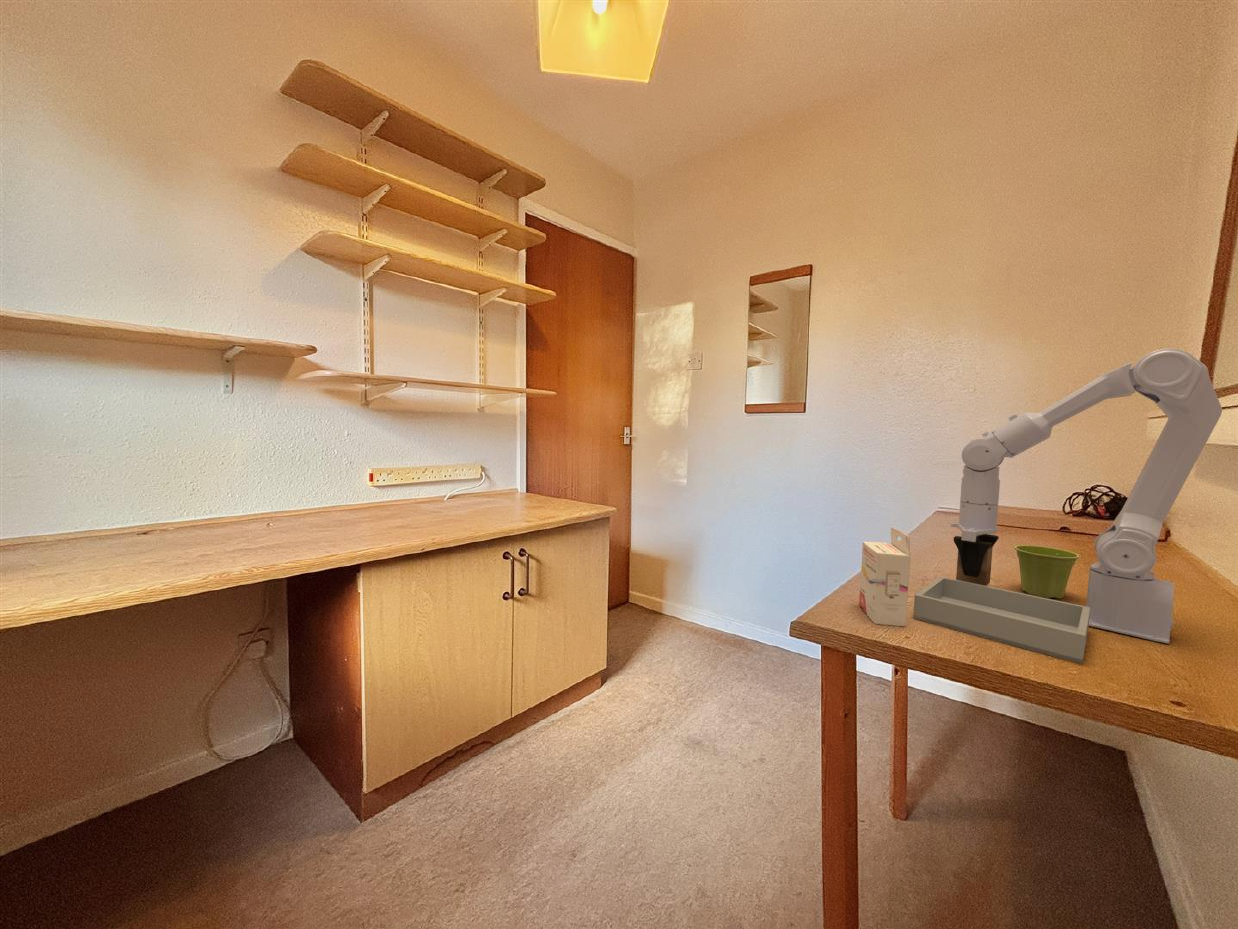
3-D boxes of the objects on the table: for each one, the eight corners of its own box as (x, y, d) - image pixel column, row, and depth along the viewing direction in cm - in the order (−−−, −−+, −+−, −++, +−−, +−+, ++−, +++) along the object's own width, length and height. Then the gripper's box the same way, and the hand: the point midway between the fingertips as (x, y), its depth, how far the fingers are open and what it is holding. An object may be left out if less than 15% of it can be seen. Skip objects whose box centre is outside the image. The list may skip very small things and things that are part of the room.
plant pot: (1070, 606, 85) (1075, 560, 84) (1005, 592, 92) (1009, 549, 92) (1078, 596, 91) (1083, 552, 90) (1016, 583, 98) (1020, 542, 97)
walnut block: (989, 582, 89) (992, 546, 88) (985, 587, 86) (988, 550, 85) (961, 576, 92) (963, 542, 92) (955, 581, 89) (958, 545, 89)
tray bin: (1087, 632, 73) (1090, 607, 73) (1082, 664, 63) (1085, 635, 62) (938, 597, 88) (940, 576, 88) (913, 618, 77) (914, 595, 77)
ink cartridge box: (856, 605, 83) (862, 523, 82) (887, 608, 82) (893, 525, 81) (873, 624, 74) (879, 533, 73) (907, 627, 73) (913, 536, 72)
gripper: (961, 497, 96) (957, 562, 97) (943, 503, 86) (938, 575, 87) (1005, 501, 91) (1000, 570, 92) (992, 508, 81) (986, 585, 82)
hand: (973, 573), depth 89 cm, fingers closed on walnut block, 4 cm apart
